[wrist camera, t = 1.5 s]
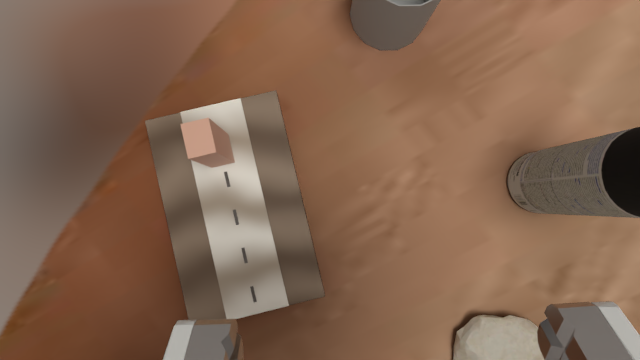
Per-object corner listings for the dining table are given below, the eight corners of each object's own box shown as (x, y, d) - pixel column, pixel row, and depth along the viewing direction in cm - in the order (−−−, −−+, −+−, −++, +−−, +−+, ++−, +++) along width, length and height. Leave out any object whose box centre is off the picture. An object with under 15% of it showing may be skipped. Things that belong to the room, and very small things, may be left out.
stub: (234, 162, 42) (216, 152, 34) (211, 167, 42) (188, 158, 34) (228, 134, 42) (208, 117, 34) (205, 139, 42) (180, 124, 34)
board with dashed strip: (324, 293, 43) (325, 296, 41) (195, 325, 43) (189, 330, 41) (277, 94, 44) (275, 89, 43) (150, 123, 44) (143, 120, 42)
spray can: (569, 210, 44) (781, 214, 24) (508, 216, 44) (669, 226, 24) (561, 149, 45) (763, 104, 25) (500, 155, 44) (653, 115, 24)
